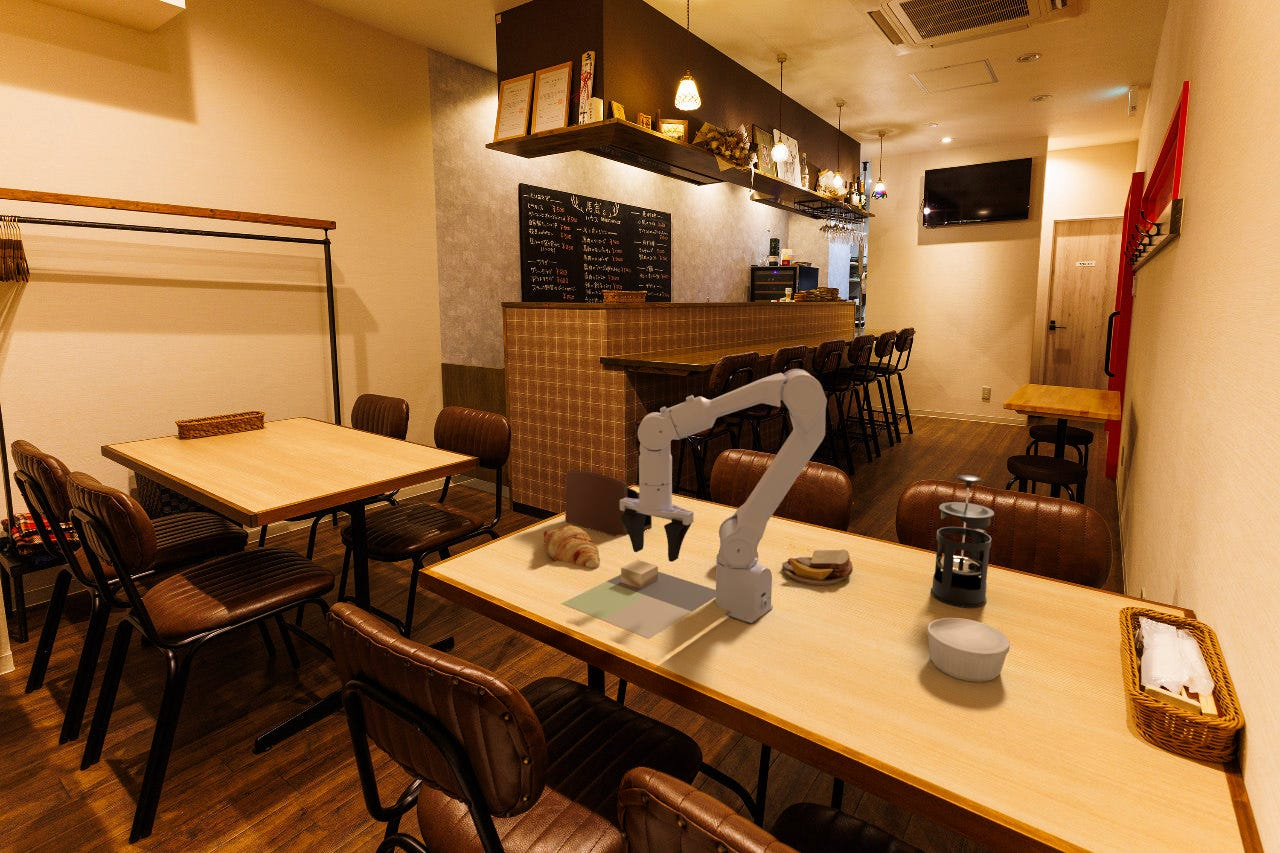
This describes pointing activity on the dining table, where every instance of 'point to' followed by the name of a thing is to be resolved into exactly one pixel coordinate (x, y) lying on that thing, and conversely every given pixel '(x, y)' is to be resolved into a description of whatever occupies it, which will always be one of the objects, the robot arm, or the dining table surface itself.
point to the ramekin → (967, 648)
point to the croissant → (571, 546)
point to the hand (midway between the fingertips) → (655, 554)
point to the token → (639, 574)
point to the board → (642, 603)
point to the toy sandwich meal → (820, 567)
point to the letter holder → (597, 502)
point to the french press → (962, 568)
